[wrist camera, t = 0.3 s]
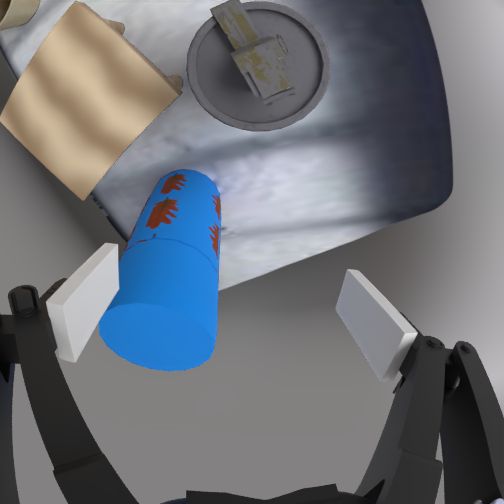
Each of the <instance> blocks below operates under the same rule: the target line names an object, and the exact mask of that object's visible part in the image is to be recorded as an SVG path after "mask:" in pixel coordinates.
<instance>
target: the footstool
mask: <svg viewBox="0 0 504 504" xmlns="http://www.w3.org/2000/svg"><path fill="white" fill-rule="evenodd" d="M124 30H125V27H124V25H123V24H122V23H119V22H115V21H110V20H105V19H103V18H101V17H100V16H99V15H98V14H97V13H96V12H94V11H93V10H92V9H91V8H90V7H88V6H87V5H86V4H85V3H81V2H77V1H75V2H74V3H73V4H72V5H71V7H70V8H69V9H68V10H67V11H66V12H65V14H64V15H63V16H62V17H61V19H60V20H59V21H58V22H57V24H56V25H55V26H54V28H53V29H52V30H51V32H50V33H49V34H48V36H47V37H46V38H45V40H44V41H43V43H42V44H41V46H40V47H39V48H38V50H37V51H36V53H35V54H34V56H33V58H32V59H31V61H30V62H29V64H28V65H27V67H26V69H25V70H24V72H23V74H22V76H21V77H20V79H19V81H18V83H17V84H16V86H15V88H14V90H13V92H12V94H11V96H10V98H9V99H8V101H7V103H6V105H5V108H4V110H3V112H2V114H1V116H0V121H1V123H2V124H3V125H4V126H5V127H6V128H7V129H8V130H9V131H10V132H11V133H12V134H13V135H14V136H15V137H16V138H17V139H18V140H19V141H20V142H21V143H22V144H23V145H24V146H25V147H26V148H27V149H28V150H29V151H30V152H31V153H32V154H33V155H34V156H35V157H36V158H37V159H38V160H39V161H40V162H41V163H42V164H43V165H44V166H45V167H46V168H48V170H50V171H51V172H52V173H53V174H54V175H55V176H56V177H57V178H58V179H59V180H61V182H62V183H64V184H65V185H66V186H67V187H68V188H69V189H70V190H71V191H72V192H74V193H75V194H76V195H77V196H78V197H79V198H80V199H82V200H83V201H84V200H85V199H86V197H87V196H88V195H89V194H90V192H91V191H92V190H93V189H94V187H95V186H96V185H97V183H98V182H99V181H100V180H101V178H102V177H103V176H104V175H105V174H106V172H107V171H108V170H109V169H110V168H111V166H112V165H113V164H114V163H115V162H116V160H117V159H118V158H119V157H120V156H121V155H122V154H123V152H124V151H125V150H126V149H127V148H128V147H129V146H130V145H131V144H132V142H133V141H134V140H135V139H136V138H137V137H138V136H139V135H140V134H141V133H142V132H143V131H144V130H145V129H146V128H147V127H148V126H149V125H150V124H151V123H152V122H153V121H154V120H155V119H156V118H157V117H158V116H159V115H160V114H161V113H162V112H163V111H164V110H165V109H166V108H167V107H168V106H169V105H170V104H171V103H172V102H173V101H174V100H175V99H177V98H178V97H179V96H180V95H181V94H182V92H181V91H180V89H181V88H182V86H183V81H182V79H181V78H180V77H178V76H170V77H166V76H165V75H164V74H163V73H162V72H161V71H160V70H159V69H158V68H157V67H156V66H155V65H154V64H153V63H151V62H150V61H149V60H148V59H147V58H146V57H145V56H144V55H143V54H142V53H141V52H140V51H139V50H138V49H136V48H135V47H134V46H133V45H132V44H131V43H130V42H129V41H128V40H127V39H125V38H124V37H123V36H122V34H123V33H124Z"/></svg>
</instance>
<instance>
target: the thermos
mask: <svg viewBox="0 0 504 504" xmlns="http://www.w3.org/2000/svg"><path fill="white" fill-rule="evenodd" d="M220 233H221V204H220V193H219V191H218V189H217V187H216V185H215V183H213V182H212V181H211V180H210V179H209V178H208V177H207V176H206V175H204V174H201V173H199V172H197V171H193V170H179V171H175V172H171V173H169V174H168V175H166V176H165V177H163V178H162V179H161V180H160V182H159V183H158V185H157V186H156V188H155V189H154V191H153V192H152V194H151V195H150V197H149V198H148V200H147V202H146V204H145V206H144V208H143V210H142V212H141V214H140V217H139V219H138V221H137V223H136V225H135V227H134V229H133V231H132V234H131V236H130V238H129V240H128V243H127V245H126V247H125V249H124V252H123V254H122V256H121V259H120V262H119V263H118V273H119V290H118V292H117V293H116V295H115V296H114V298H113V299H112V301H111V303H110V304H109V306H108V307H107V309H106V311H105V312H104V314H103V316H102V317H101V319H100V321H99V332H100V336H101V337H102V339H103V340H104V342H105V343H106V345H107V346H108V347H109V348H110V349H111V350H113V351H114V352H115V353H116V354H117V355H118V356H120V357H122V358H124V359H126V360H128V361H130V362H131V363H133V364H137V365H140V366H143V367H146V368H149V369H155V370H163V371H179V370H186V369H190V368H194V367H197V366H200V365H201V364H203V363H204V362H205V361H207V360H208V359H209V358H210V357H211V354H212V352H213V350H214V348H215V342H216V336H217V314H218V313H217V312H218V281H219V255H220Z"/></svg>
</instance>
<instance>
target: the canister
mask: <svg viewBox="0 0 504 504" xmlns="http://www.w3.org/2000/svg"><path fill="white" fill-rule="evenodd" d="M210 10H211V13H212V15H213V16H212V17H211V18H210V19H209V20H207V21H206V22H205V23H204V24H203V25H202V26H201V28H200V29H199V30H198V31H197V33H196V35H195V37H194V39H193V40H192V42H191V45H190V48H189V51H188V55H187V70H186V71H187V76H188V80H189V83H190V86H191V89H192V92H193V93H194V95H195V97H196V99H197V101H198V102H199V103H200V105H201V106H202V107H203V108H204V109H205V110H206V111H207V112H208V113H209V114H210V115H212V116H213V117H214V118H216V119H218V120H219V121H221V122H223V123H224V124H226V125H229V126H232V127H235V128H239V129H242V130H247V131H271V130H276V129H281V128H284V127H287V126H289V125H291V124H293V123H295V122H297V121H299V120H301V119H303V118H304V117H305V116H306V115H307V114H309V113H310V112H311V111H312V110H313V109H314V108H315V107H316V106H317V105H318V103H319V102H320V101H321V99H322V98H323V96H324V94H325V92H326V90H327V87H328V83H329V80H330V74H331V59H330V55H329V50H328V46H327V44H326V43H325V41H324V39H323V37H322V35H321V33H320V32H319V30H318V29H317V28H316V27H315V26H314V25H313V24H312V23H311V22H310V21H309V20H308V19H307V18H306V17H305V16H304V15H302V14H300V13H298V12H297V11H295V10H293V9H291V8H289V7H287V6H284V5H280V4H276V3H272V2H246V3H242V4H241V2H240V1H239V0H229V1H227V2H225V3H222V4H220V5H218V6H216V7H214V8H212V9H210Z"/></svg>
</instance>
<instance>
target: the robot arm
mask: <svg viewBox="0 0 504 504" xmlns="http://www.w3.org/2000/svg"><path fill="white" fill-rule="evenodd" d="M118 290H119V273H118V244H111V243H105V244H104V245H103V246H102V247H100V248H99V249H98V250H97V251H96V252H95V253H94V254H93V255H92V256H91V257H90V258H89V259H88V260H87V261H86V262H85V263H84V264H83V265H81V267H79V268H78V270H76V271H75V272H74V273H73V274H72V275H71V276H70V277H69V278H68V279H66V278H63V279H61V280H59V281H57V282H55V283H54V284H53V285H52V286H51V287H50V289H48V290H47V291H46V293H44V294H43V295H42V297H40V298H39V296H38V291H37V289H36V288H35V287H33V286H30V285H22V286H18V287H16V288H14V289H12V290H11V291H10V292H9V294H8V299H9V303H10V307H11V311H12V315H1V314H0V504H20V503H19V498H18V491H17V485H16V478H15V469H14V459H13V445H12V397H13V382H14V371H15V363H16V364H20V365H21V369H22V374H23V378H24V382H25V386H26V390H27V393H28V397H29V400H30V404H31V407H32V411H33V414H34V417H35V420H36V423H37V426H38V429H39V431H40V434H41V437H42V440H43V442H44V445H45V447H46V450H47V452H48V455H49V457H50V459H51V462H52V464H53V466H54V470H53V473H54V476H55V479H56V481H57V483H58V485H59V487H60V489H61V491H62V493H63V494H64V497H65V498H66V500H67V502H68V504H139V503H138V502H137V501H136V499H135V498H134V497H133V495H132V494H131V493H130V491H129V490H128V489H127V487H126V486H125V484H124V483H123V482H122V480H121V479H120V477H119V476H118V474H117V473H116V471H115V470H114V468H113V467H112V465H111V464H110V463H109V461H108V459H107V458H106V456H105V455H104V454H103V453H102V451H101V450H100V448H99V447H98V445H97V443H96V441H95V440H94V438H93V436H92V434H91V433H90V431H89V429H88V427H87V425H86V423H85V421H84V419H83V417H82V415H81V413H80V411H79V409H78V407H77V405H76V403H75V401H74V399H73V397H72V394H71V392H70V390H69V387H68V385H67V383H66V380H65V378H64V375H63V373H62V370H61V368H60V365H59V363H58V360H57V357H56V355H55V350H56V349H57V350H58V353H59V357H60V359H63V360H66V361H70V362H74V363H75V362H76V360H77V359H78V357H79V355H80V353H81V352H82V350H83V348H84V346H85V344H86V343H87V341H88V339H89V338H90V336H91V334H92V332H93V331H94V329H95V327H96V326H97V324H98V322H99V321H100V319H101V317H102V316H103V314H104V312H105V311H106V309H107V307H108V306H109V304H110V303H111V301H112V299H113V298H114V296H115V295H116V293H117V292H118ZM335 310H336V311H337V313H338V314H339V316H340V317H341V319H342V321H343V322H344V324H345V325H346V327H347V328H348V330H349V332H350V333H351V335H352V336H353V338H354V340H355V341H356V343H357V344H358V346H359V348H360V349H361V351H362V352H363V354H364V355H365V357H366V359H367V360H368V362H369V364H370V365H371V367H372V368H373V370H374V372H375V373H376V375H377V377H378V378H379V380H380V382H384V381H392V380H394V378H395V376H396V375H397V373H398V371H400V372H401V374H402V375H403V376H402V377H401V379H400V381H399V383H398V384H397V386H396V388H395V390H394V391H393V393H395V392H396V394H395V397H394V400H393V404H392V406H391V410H390V412H389V416H388V418H387V421H386V424H385V427H384V429H383V432H382V435H381V437H380V440H379V443H378V445H377V448H376V450H375V453H374V455H373V458H372V460H371V462H370V464H369V467H368V469H367V471H366V473H365V475H364V477H363V480H362V482H361V484H360V486H359V487H358V489H357V491H356V492H355V493H354V494H351V493H347V492H340V491H338V490H337V487H336V484H330V485H325V486H319V487H312V488H304V489H300V490H297V491H294V492H292V493H289V494H286V495H282V496H279V497H276V498H272V499H269V500H261V499H255V498H249V497H244V496H239V495H234V494H229V493H219V492H200V491H188V490H187V491H186V498H182V499H176V500H171V501H167V502H164V503H161V504H435V500H436V496H437V492H438V487H439V483H440V479H441V474H442V468H443V470H444V493H445V504H504V417H503V414H502V411H501V409H500V406H499V403H498V400H497V398H496V395H495V393H494V390H493V388H492V385H491V383H490V380H489V378H488V376H487V373H486V371H485V369H484V366H483V364H482V362H481V360H480V358H479V356H478V354H477V352H476V350H475V348H474V347H473V346H472V345H471V344H469V343H468V342H464V341H459V342H457V343H456V345H455V347H454V348H453V349H446V348H445V346H444V344H443V343H442V342H441V341H440V340H438V339H437V338H435V337H431V336H423V335H422V334H421V333H420V332H419V330H417V328H416V327H415V326H414V325H412V323H411V322H410V321H409V320H408V319H407V318H406V317H405V316H404V314H402V313H401V312H399V311H398V310H396V308H394V306H393V305H392V304H391V303H390V302H389V301H388V300H387V299H386V298H385V297H384V296H383V295H382V294H381V293H380V292H379V291H378V290H377V289H376V288H375V287H374V286H373V285H372V284H371V283H370V282H369V281H368V280H367V279H366V278H365V277H364V276H363V275H362V274H361V273H360V272H359V271H358V270H350V269H347V272H346V275H345V279H344V282H343V286H342V289H341V293H340V296H339V299H338V302H337V306H336V309H335ZM439 433H440V437H441V445H442V456H443V463H442V462H441V461H439V460H436V459H435V457H436V451H437V445H438V439H439Z"/></svg>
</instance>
